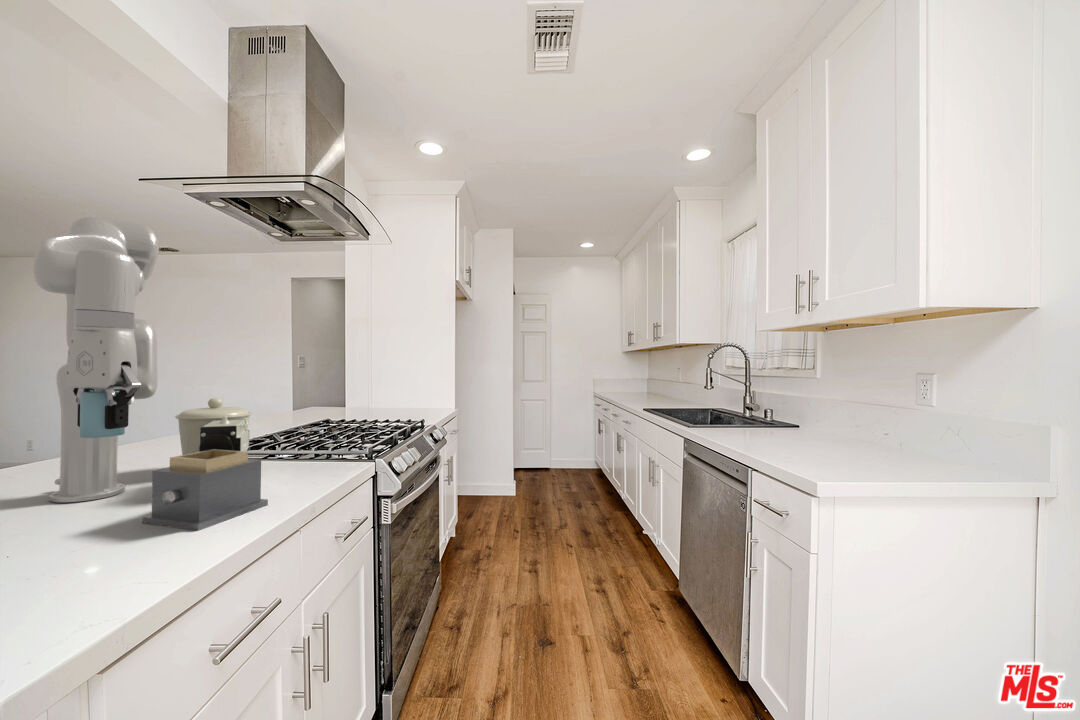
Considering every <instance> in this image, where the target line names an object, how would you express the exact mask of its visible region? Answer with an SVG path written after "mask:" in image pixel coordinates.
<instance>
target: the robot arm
mask: <svg viewBox="0 0 1080 720" xmlns="http://www.w3.org/2000/svg"><path fill="white" fill-rule="evenodd" d="M68 232H69V233H68V235H67V234H65V235H58V236H54V237H48V238H46V239H44V240H42V241H41V242H40V243H39V245H38V246H37V248H36V251H35V254H34V260H33V265H32V266H33V267H32V268H33V269H32V272H33V277H34V280H35V283H36V285H38V287H40V288H41V289H42V290H44V291H46V292H48V293H54V294H62V295H65V298H66V325H65V326H66V327H65V328H66V331H65V333H66V343H67V344H66V345H67V346H68V351H67V359H66V363H65V364H63V365H62V366H61V367H60V368H59V369H57V373H56V376H55V377H56V378H55V381H56V387H57V391H58V392H57V393H58V397H59V404H60V418H61V419H60V462H59V463H60V465H59V466H60V467H59V468H60V470H59V472H60V474H59V478H57V479H55V480H54V485H56V486H57V485H59V486H58V487H59V490H58V491H55V492H53V493H51V494H50V495H49V501H50V502H52V503H61V504H62V503H78V502H86V501H95V500H98V499H99V500H100V499H105V498H109V497H112V496H116V495H119V494H121V493H124V492H125V491H126V485H125V484H123V483H119V482H118V452H119V451H118V449H119V447H118V445H119V435H118V436H111V437H100V438H81V437H80V397H81V392H88V391H94V389H105V391H106V395H107V400H108V404H109V405H108V406H105V429H116V428H124V427H125V428H127V427H129V416H130V415H129V411H130V410H129V408H130V407H129V406H130V405H129V404H131V398H132V397H134V400H145V399H148V398H149V399H150V398H152V397H153V396H154V395H155V394H156V392H157V388H158V348H157V347H158V346H157V345H158V343H157V333H156V329H155V327H154V325H153V324H152V323H151V322H150V321H148V320H145V319H140V318H135V308H136V307H135V304H136V303H135V302H136V297H137V296H138V295H139V294H140V293H141V292H143V290H144V288H145V287H144V286H145V281H147V280H149V279H150V278H151V276H152V274H153V272H154V269H155V266H156V262H157V260H158V256H159V252H160V249H159V248H160V245H159V240H158V237H157V235H156V233H155V231H153V230H152V229H151V228H149V227H148V226H146V225H143V224H138V223H132V222H128V221H127V222H126V221H122V220H121V221H120V220H116V219H110V218H104V217H97V216H95V217H94V216H85V217H80V218H79V219H76V220H75V221H74V222H72V223H71V226H70V228H69V231H68ZM112 385H113V387H112ZM115 391H119V392H118V394H117V395H116V396H115ZM131 405H132V404H131Z"/></svg>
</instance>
